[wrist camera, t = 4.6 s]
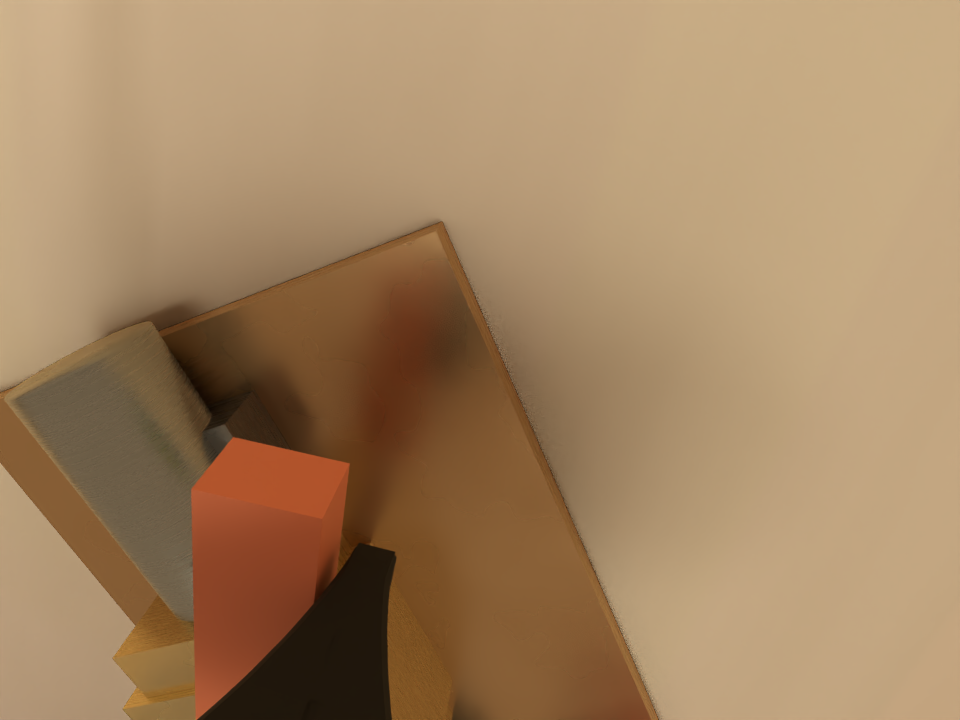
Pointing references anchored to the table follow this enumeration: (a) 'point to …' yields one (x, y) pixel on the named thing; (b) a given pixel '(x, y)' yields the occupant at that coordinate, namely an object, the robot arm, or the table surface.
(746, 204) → the table surface
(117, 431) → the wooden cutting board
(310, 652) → the robot arm
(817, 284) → the table surface
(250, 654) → the lever
